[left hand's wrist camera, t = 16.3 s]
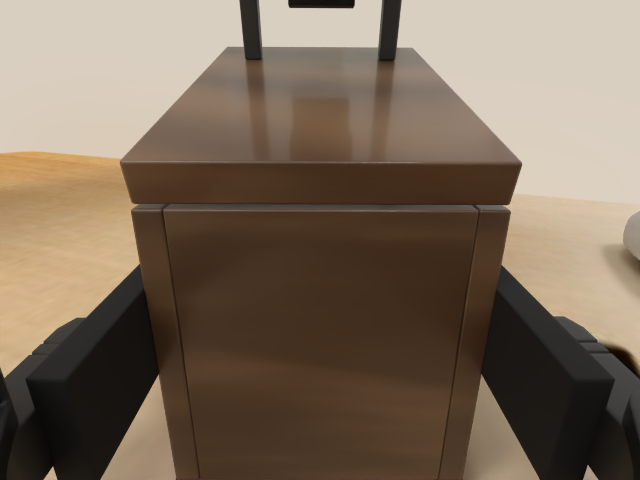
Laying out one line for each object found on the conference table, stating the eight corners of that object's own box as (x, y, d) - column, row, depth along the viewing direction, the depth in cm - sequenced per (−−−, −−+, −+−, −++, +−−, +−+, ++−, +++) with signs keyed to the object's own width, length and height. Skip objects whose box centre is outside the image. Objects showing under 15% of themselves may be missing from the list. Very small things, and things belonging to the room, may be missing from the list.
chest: (244, 300, 25) (233, 139, 22) (393, 301, 25) (405, 140, 22) (178, 498, 13) (128, 209, 10) (460, 498, 13) (512, 211, 10)
